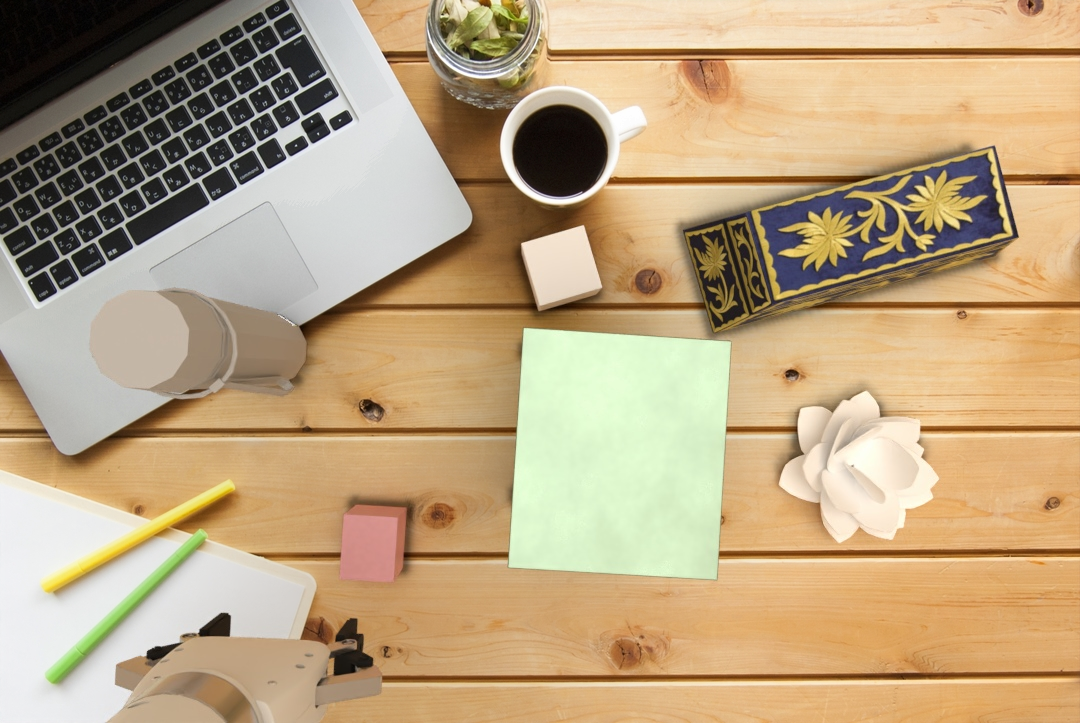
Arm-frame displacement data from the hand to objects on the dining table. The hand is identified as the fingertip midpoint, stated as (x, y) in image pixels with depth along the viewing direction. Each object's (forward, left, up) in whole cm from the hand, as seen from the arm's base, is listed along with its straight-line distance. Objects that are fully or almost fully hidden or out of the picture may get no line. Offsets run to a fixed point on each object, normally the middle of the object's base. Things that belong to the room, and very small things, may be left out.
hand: (289, 635), depth 56 cm
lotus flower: (+14, -49, -16) cm, 54 cm away
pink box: (+4, -3, -16) cm, 17 cm away
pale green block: (+16, -23, -16) cm, 33 cm away
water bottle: (+21, +8, -16) cm, 28 cm away
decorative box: (+36, -47, -16) cm, 62 cm away
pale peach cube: (+31, -19, -16) cm, 40 cm away
